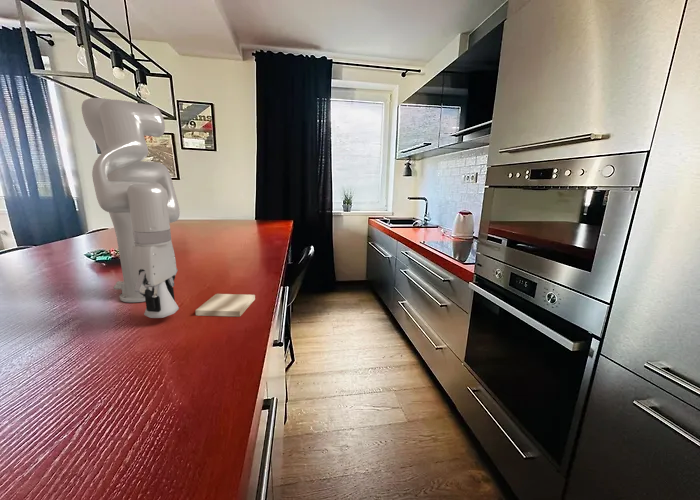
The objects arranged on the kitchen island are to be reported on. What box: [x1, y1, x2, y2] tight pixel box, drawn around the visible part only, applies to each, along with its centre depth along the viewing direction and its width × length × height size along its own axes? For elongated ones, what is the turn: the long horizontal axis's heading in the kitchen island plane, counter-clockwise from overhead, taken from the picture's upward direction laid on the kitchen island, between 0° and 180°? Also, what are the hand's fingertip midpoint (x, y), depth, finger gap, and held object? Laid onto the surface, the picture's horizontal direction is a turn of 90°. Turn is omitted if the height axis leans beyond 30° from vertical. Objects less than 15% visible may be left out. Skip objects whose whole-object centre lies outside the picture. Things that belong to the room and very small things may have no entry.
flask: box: [143, 281, 180, 319], centre depth 74 cm, size 7×7×10 cm
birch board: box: [195, 293, 256, 318], centre depth 85 cm, size 12×12×2 cm
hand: (161, 305), depth 75 cm, fingers closed on flask, 4 cm apart
